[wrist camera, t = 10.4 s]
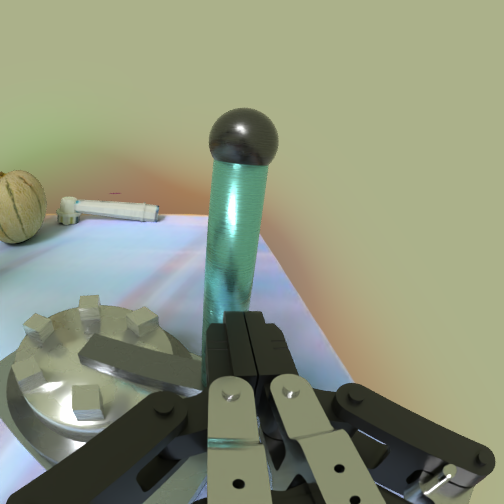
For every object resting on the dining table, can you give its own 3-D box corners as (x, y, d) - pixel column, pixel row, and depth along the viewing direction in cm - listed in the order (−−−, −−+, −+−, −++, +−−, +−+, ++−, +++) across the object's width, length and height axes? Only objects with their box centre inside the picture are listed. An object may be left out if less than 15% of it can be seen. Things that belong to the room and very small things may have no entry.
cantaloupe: (62, 234, 53) (58, 162, 47) (13, 260, 39) (2, 176, 33) (24, 225, 54) (19, 163, 49) (-21, 247, 41) (-30, 176, 35)
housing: (-20, 389, 16) (-35, 364, 15) (91, 313, 32) (86, 288, 31) (158, 552, 10) (149, 545, 8) (259, 389, 26) (264, 364, 24)
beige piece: (159, 208, 63) (54, 195, 54) (154, 236, 65) (53, 223, 56) (159, 202, 68) (61, 190, 58) (154, 228, 70) (59, 216, 60)
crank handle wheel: (-1, 397, 14) (-73, 134, 6) (75, 314, 26) (59, 117, 18) (223, 490, 13) (280, 86, 6) (248, 356, 25) (283, 121, 18)
